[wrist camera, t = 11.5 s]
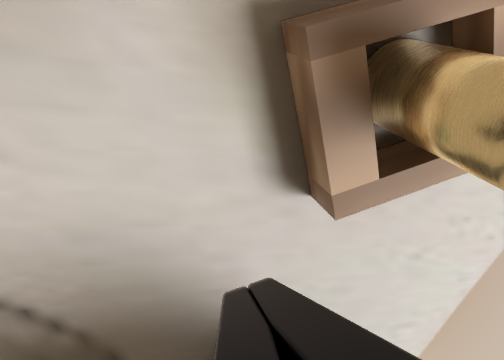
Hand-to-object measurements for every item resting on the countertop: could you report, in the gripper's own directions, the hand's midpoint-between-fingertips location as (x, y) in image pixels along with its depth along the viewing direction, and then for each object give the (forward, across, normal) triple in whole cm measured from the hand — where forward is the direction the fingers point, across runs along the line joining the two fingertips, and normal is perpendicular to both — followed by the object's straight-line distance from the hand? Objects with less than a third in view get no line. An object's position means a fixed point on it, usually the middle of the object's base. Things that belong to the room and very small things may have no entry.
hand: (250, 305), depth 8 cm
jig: (+12, -11, +1) cm, 16 cm away
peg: (+12, -11, +1) cm, 16 cm away
